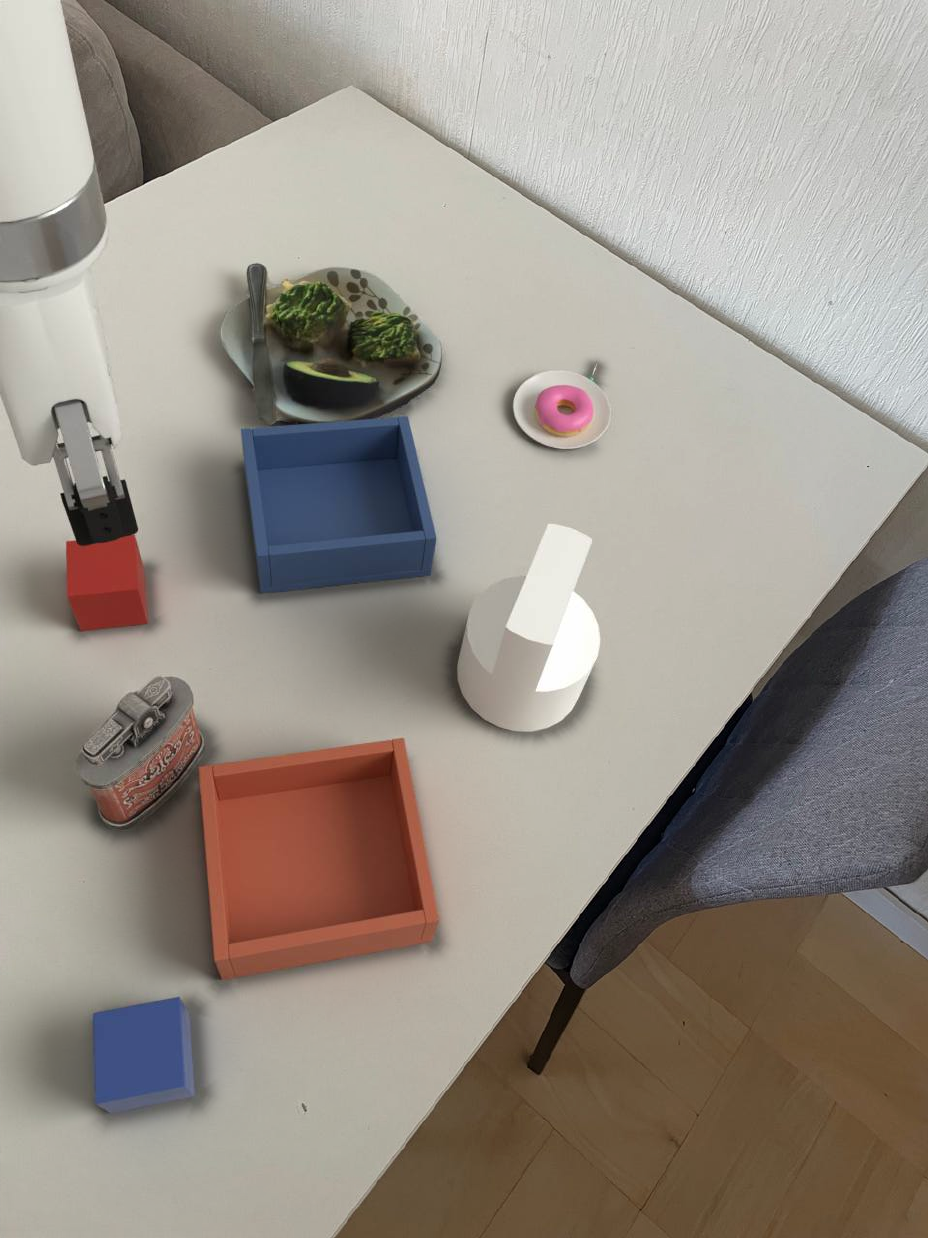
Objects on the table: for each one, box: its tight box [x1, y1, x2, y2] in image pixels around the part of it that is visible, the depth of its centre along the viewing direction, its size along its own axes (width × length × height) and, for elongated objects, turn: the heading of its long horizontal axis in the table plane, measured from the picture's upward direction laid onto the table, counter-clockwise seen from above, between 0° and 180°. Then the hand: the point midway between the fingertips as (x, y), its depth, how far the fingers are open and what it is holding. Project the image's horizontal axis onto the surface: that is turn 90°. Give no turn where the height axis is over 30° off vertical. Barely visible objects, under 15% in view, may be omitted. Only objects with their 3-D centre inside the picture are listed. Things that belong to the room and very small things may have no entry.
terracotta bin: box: [198, 737, 440, 981], centre depth 62 cm, size 13×12×5 cm
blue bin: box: [240, 415, 437, 595], centre depth 76 cm, size 13×12×5 cm
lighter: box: [75, 675, 206, 832], centre depth 61 cm, size 8×3×10 cm, turn 145°
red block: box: [65, 534, 149, 632], centre depth 70 cm, size 4×4×4 cm
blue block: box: [92, 996, 196, 1115], centre depth 55 cm, size 4×4×4 cm
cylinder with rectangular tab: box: [456, 523, 601, 733], centre depth 68 cm, size 9×9×12 cm
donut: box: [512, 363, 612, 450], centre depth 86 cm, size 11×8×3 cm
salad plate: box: [219, 262, 443, 426], centre depth 85 cm, size 19×18×5 cm
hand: (89, 468), depth 57 cm, fingers open, 9 cm apart
